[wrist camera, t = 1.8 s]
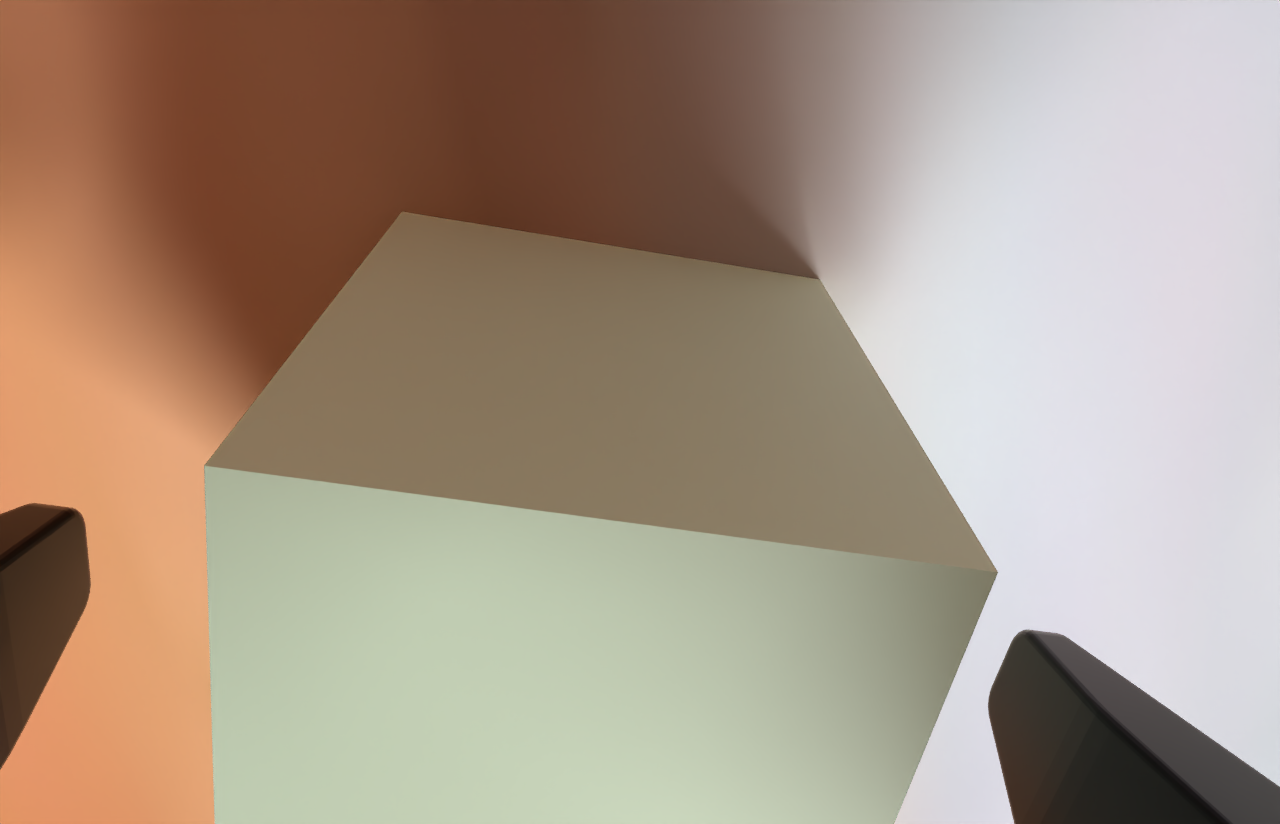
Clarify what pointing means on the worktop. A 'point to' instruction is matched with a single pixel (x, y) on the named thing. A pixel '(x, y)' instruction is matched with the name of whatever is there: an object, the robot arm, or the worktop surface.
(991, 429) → the worktop surface
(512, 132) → the worktop surface
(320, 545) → the cream block
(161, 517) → the worktop surface
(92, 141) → the worktop surface
